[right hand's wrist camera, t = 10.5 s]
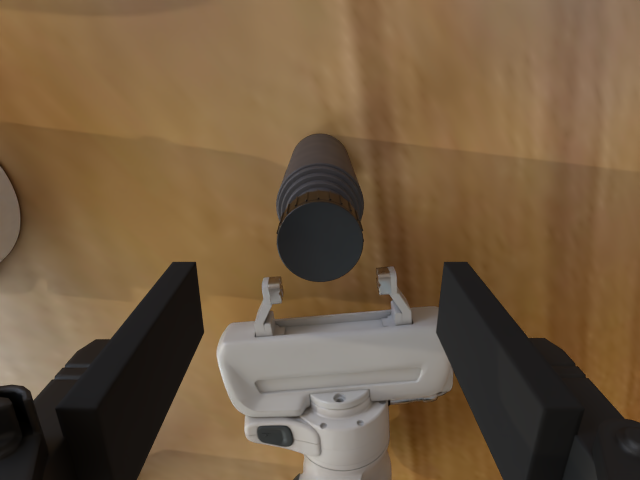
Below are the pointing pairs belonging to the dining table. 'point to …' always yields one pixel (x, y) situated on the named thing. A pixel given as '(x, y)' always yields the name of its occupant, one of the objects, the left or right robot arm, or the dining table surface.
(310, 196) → the cap
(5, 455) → the right robot arm
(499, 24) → the dining table surface
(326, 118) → the dining table surface
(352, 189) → the bottle
